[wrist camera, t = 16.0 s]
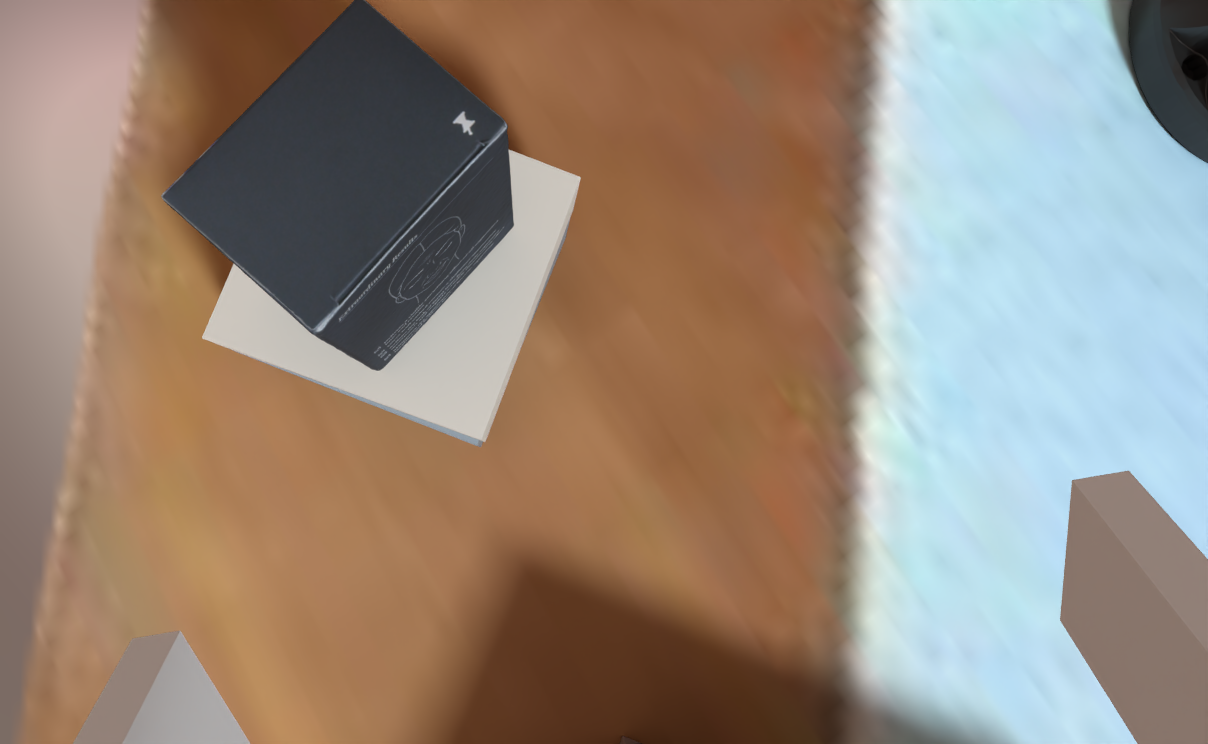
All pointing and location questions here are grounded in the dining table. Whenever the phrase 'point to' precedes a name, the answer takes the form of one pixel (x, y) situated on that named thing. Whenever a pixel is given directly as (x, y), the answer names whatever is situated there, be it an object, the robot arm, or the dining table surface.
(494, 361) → the tower top
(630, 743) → the tissue box cover
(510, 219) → the box
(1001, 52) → the dining table surface
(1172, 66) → the robot arm
